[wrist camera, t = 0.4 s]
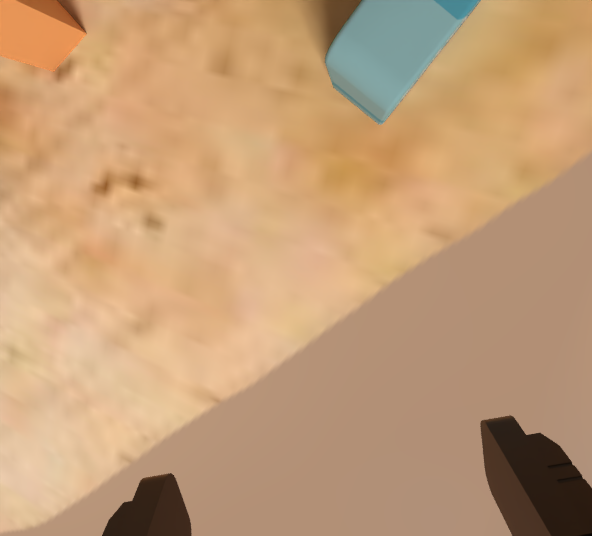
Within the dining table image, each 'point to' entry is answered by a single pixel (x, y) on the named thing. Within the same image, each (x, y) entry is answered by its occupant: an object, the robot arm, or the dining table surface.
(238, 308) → the dining table surface
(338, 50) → the data package
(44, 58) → the plug
